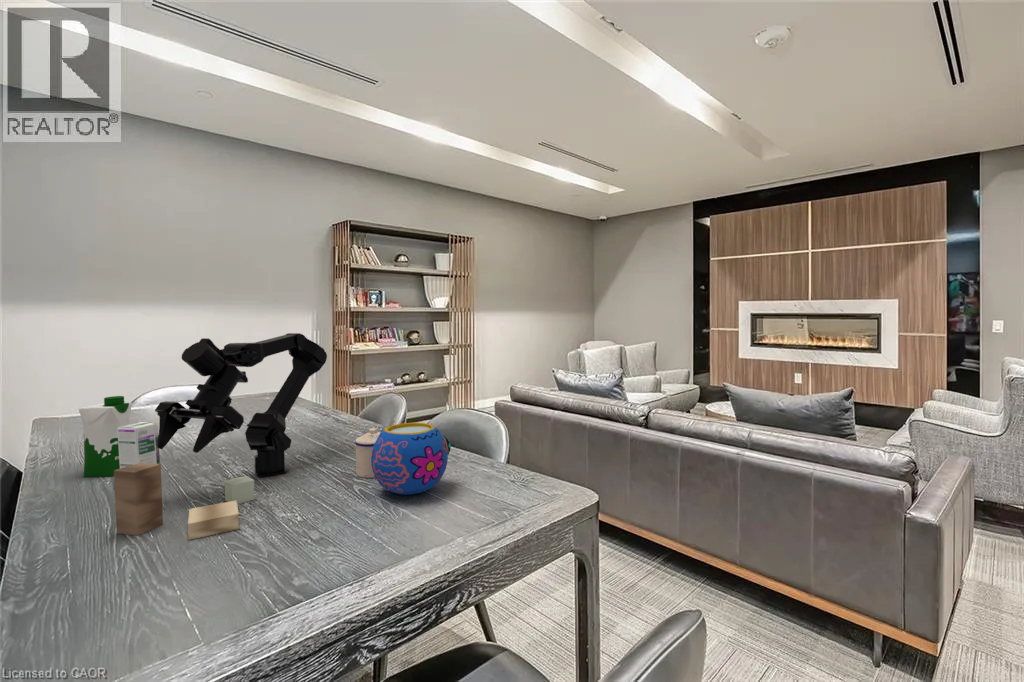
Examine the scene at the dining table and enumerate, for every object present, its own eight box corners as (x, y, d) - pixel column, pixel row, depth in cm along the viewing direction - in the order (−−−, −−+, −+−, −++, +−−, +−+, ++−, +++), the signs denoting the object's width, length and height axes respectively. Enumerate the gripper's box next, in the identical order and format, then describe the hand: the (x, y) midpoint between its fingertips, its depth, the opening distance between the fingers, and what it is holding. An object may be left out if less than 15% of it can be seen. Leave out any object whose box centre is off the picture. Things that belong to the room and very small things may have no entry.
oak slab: (236, 514, 97) (236, 500, 96) (239, 528, 90) (238, 513, 90) (189, 523, 92) (189, 508, 92) (188, 539, 86) (188, 523, 85)
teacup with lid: (398, 471, 124) (398, 427, 123) (370, 481, 116) (369, 434, 116) (370, 463, 131) (369, 422, 130) (341, 472, 123) (340, 428, 123)
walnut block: (143, 521, 93) (140, 462, 93) (162, 524, 92) (160, 464, 92) (116, 532, 89) (113, 470, 88) (137, 535, 87) (134, 472, 87)
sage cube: (247, 494, 108) (246, 475, 108) (254, 499, 105) (254, 480, 105) (225, 500, 104) (224, 480, 104) (232, 505, 101) (231, 485, 101)
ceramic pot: (462, 483, 114) (462, 423, 114) (418, 511, 98) (417, 440, 97) (404, 474, 122) (403, 417, 121) (355, 497, 105) (353, 432, 105)
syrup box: (139, 486, 113) (136, 427, 112) (119, 485, 114) (116, 426, 113) (161, 478, 119) (159, 422, 118) (142, 477, 120) (139, 421, 119)
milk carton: (114, 477, 120) (110, 399, 119) (76, 478, 119) (72, 400, 118) (138, 466, 128) (135, 394, 127) (103, 467, 128) (100, 394, 127)
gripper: (271, 409, 112) (237, 470, 102) (207, 404, 116) (168, 463, 106) (244, 382, 103) (204, 447, 93) (175, 378, 107) (130, 439, 98)
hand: (177, 450), depth 98 cm, fingers open, 9 cm apart
